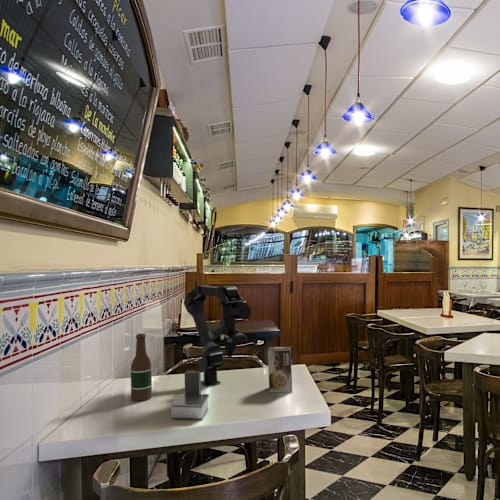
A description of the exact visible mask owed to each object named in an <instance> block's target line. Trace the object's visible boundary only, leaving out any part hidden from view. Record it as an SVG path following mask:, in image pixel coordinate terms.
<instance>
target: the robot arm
mask: <svg viewBox="0 0 500 500" xmlns="http://www.w3.org/2000/svg"><path fill="white" fill-rule="evenodd" d="M207 296H210V297H215V298H216V299H217V300H218V301H219V300H220V301H219V302H218V304H217V306H219V307H220V308H221V319H219V321H218V322H219V323H218V324H216V325H215V326H214V325H213V326H212V327H211V328H209V324H208V322H207V319H206V316H205V313H204V312H205V306H206V304H205V302H206V300H207ZM183 306H184V308H185V309H186V312H187V313H188V314H189V315H191V316H192V318H193V321H194V325H195V328H196V330H197V334H198V337H199V339H200V343H201V346H202V347H201V348H202V350H201V353H200V355H201V359H200V361H199V362H198V363H197V367H198V370H199V371H202V372H203V380H201V384H202V385H204V386H206V387H209V386H214V385H219V384H221V381H220V380H218V368H222V366H223V362H224V355H223V353H224V352H223V351H222V348H221V345H220V344H216V343H215V342H214V340H216V339H218V337H220V338H219V341H221V343H223V345H224V348H225V351H226V354H227V357H228V358H232V356H233V354H234V352H235V350H236V347H237V346H238V344H239V343H245V342H247V341H248V340H247V338H248V336H247V335H246V334H245V333H241V332H239V330H238V329H237V324H238V323H239V320H244V321H246V320H249V319H250V317H251V315H252V309H251V307H250V306H249V305H248V302H247V301H244V300H243V297H242V296H241V294H240V291H239V290H238V287H237V286H236V285H223V286H222V285H221V286H214V285H207V284H199V285H195V287H194V288H193V289H192V290H191V291H190V292H189V293H188V294H187V295H186V296H185V297H184V300H183Z"/></svg>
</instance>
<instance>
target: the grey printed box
mask: <svg viewBox="0 0 500 500" xmlns="http://www.w3.org/2000/svg"><path fill="white" fill-rule="evenodd" d="M291 349H292V348H291V346H269V347H268V349H267V361H268V363H267V364H268V365H267V366H268V367H267V368H268V392H269V393H293V374H292V373H293V372H292V370H293V369H292V350H291Z"/></svg>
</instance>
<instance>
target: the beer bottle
mask: <svg viewBox="0 0 500 500" xmlns="http://www.w3.org/2000/svg"><path fill="white" fill-rule="evenodd" d="M146 336H147V335H146V334H145V333H138V334H136V336H135V339H136V343H135V344H136V345H135V347H136V348H135V350H136V351H135V356H134V358H133V359H132V362H131V365H130V395H131V397H130V398H131V401H134V402H139V403H140V402H145V401H148V400H150V399H151V398H152V390H153V389H152V388H153V387H152V362H151V358H150V356H148V355H147V348H146V347H147V346H146V345H147V344H146Z"/></svg>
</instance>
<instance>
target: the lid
mask: <svg viewBox="0 0 500 500" xmlns="http://www.w3.org/2000/svg"><path fill="white" fill-rule="evenodd" d="M201 371H202V370H185V372H184V393H179V394H178V395H177V396H176V397H175V398H174V399H173V400H172V402H171V403H170V407H172V406H187V407H203V405H204V404H205V402H206V400H207V399H208V400H209V398H210V395H209V393H207V394H206V393H205V394H203V393H202V383H201V381H202V379H201V376H202V374H201Z"/></svg>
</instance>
